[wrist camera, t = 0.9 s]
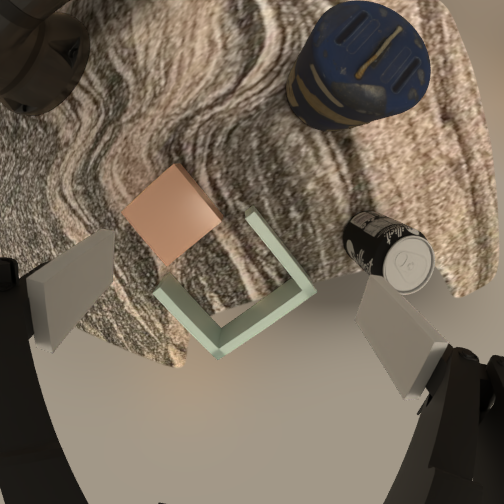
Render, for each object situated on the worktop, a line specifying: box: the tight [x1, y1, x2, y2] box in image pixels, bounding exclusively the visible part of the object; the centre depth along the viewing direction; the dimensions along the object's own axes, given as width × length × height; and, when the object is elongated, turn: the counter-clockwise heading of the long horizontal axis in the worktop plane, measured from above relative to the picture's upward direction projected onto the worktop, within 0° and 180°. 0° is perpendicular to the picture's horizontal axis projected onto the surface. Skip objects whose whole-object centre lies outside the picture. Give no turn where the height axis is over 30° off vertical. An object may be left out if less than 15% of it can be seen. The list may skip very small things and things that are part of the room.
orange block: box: [121, 163, 224, 266], centre depth 35 cm, size 8×8×4 cm
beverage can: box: [343, 211, 435, 295], centre depth 32 cm, size 7×7×12 cm
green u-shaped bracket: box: [153, 205, 317, 360], centre depth 36 cm, size 11×14×5 cm
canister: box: [286, 1, 431, 131], centre depth 24 cm, size 10×10×18 cm
